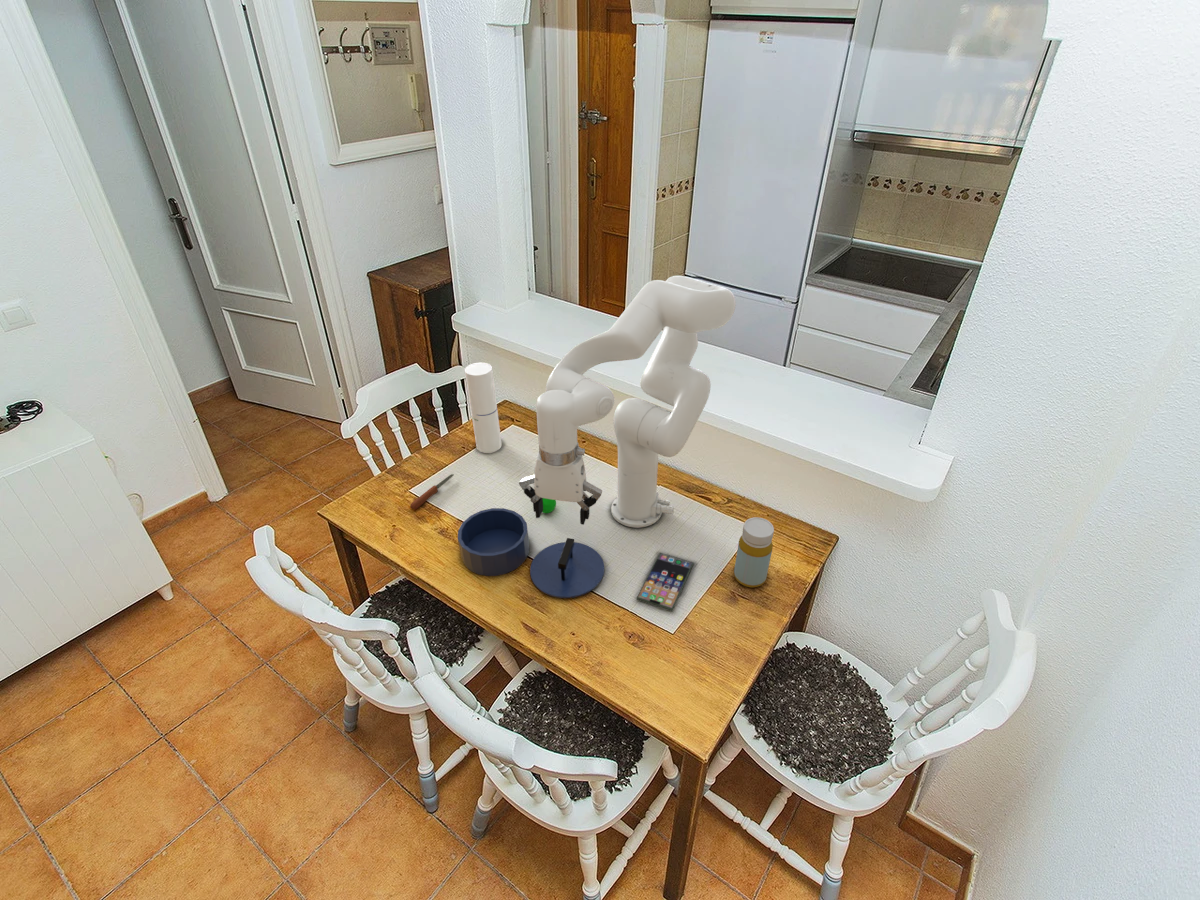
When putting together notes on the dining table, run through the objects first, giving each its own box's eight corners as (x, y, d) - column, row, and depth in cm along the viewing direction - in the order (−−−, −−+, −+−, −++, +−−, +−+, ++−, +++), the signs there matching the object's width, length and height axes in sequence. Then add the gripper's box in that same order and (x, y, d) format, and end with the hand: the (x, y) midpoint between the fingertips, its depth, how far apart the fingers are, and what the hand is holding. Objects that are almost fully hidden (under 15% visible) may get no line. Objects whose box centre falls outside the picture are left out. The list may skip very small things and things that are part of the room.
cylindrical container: (496, 454, 178) (486, 376, 164) (472, 451, 179) (460, 374, 165) (505, 440, 184) (495, 363, 169) (481, 437, 185) (470, 361, 170)
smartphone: (693, 564, 143) (693, 560, 142) (672, 612, 132) (672, 609, 131) (659, 554, 146) (660, 550, 145) (636, 601, 135) (636, 597, 134)
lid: (610, 550, 147) (610, 530, 143) (596, 605, 134) (595, 584, 130) (542, 540, 150) (540, 520, 146) (520, 593, 137) (518, 573, 133)
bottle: (759, 593, 136) (769, 543, 127) (728, 581, 139) (736, 531, 130) (770, 573, 141) (780, 523, 132) (740, 561, 144) (749, 511, 135)
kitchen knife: (414, 511, 159) (413, 505, 158) (410, 510, 159) (409, 504, 158) (456, 478, 170) (455, 472, 169) (452, 476, 170) (451, 470, 169)
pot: (537, 532, 152) (535, 512, 148) (517, 581, 140) (514, 560, 136) (476, 524, 155) (472, 504, 151) (451, 571, 142) (446, 550, 139)
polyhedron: (560, 511, 158) (559, 497, 155) (543, 519, 156) (542, 505, 153) (549, 501, 161) (548, 486, 159) (533, 508, 159) (531, 494, 156)
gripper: (605, 445, 125) (605, 511, 135) (522, 435, 128) (527, 500, 138) (597, 467, 119) (597, 535, 129) (510, 456, 122) (516, 522, 132)
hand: (561, 517), depth 133 cm, fingers open, 9 cm apart
